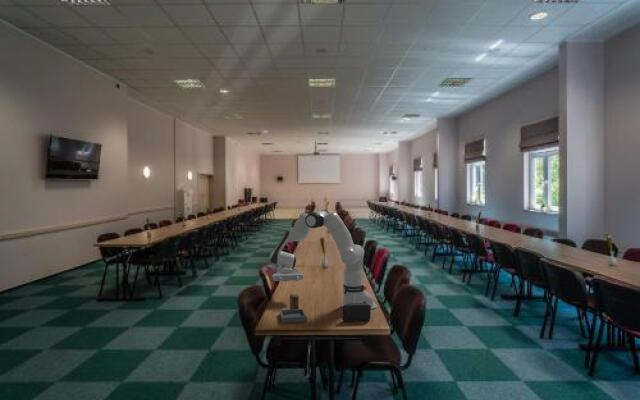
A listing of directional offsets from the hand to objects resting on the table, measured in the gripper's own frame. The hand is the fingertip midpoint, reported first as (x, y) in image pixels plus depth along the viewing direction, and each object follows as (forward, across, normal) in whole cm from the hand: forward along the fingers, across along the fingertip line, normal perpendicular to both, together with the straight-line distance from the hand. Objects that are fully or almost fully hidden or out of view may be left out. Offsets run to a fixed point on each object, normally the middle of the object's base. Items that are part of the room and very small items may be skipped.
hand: (290, 279), depth 234 cm
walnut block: (+12, 0, +17) cm, 21 cm away
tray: (+24, -3, +16) cm, 29 cm away
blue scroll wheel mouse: (+37, +31, +16) cm, 51 cm away
